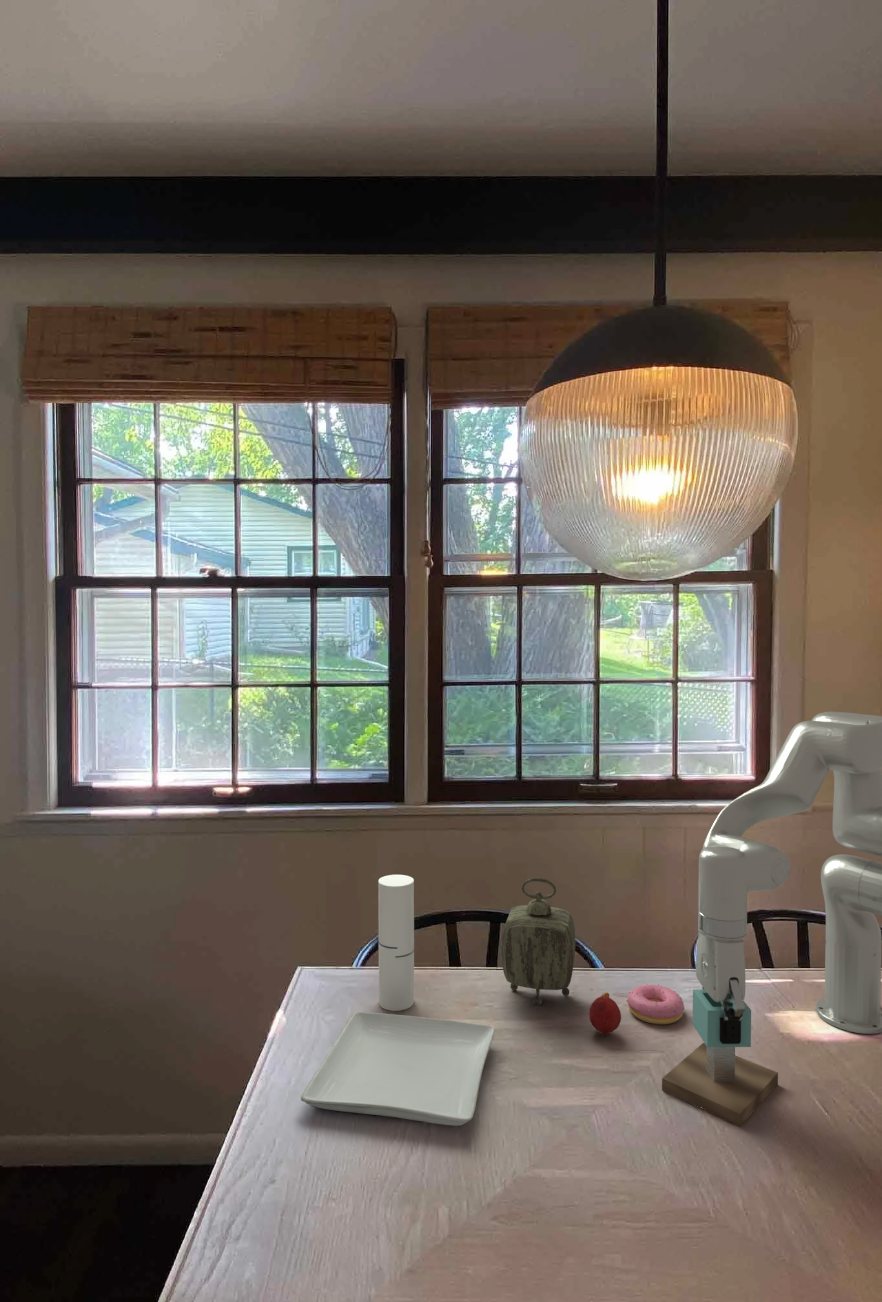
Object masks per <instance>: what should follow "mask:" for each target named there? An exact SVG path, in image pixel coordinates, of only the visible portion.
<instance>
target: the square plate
mask: <svg viewBox="0 0 882 1302" xmlns="http://www.w3.org/2000/svg"><path fill="white" fill-rule="evenodd" d="M495 1031H496V1030H495V1027H494V1026H493V1025H489V1024H481V1023H480V1024H479V1023H474V1022H473V1023H472V1022H466V1021H459V1020H451V1019H442V1018H433V1017H425V1016H414V1015H403V1014H394V1013H381V1012H379V1013H377V1012H363V1011H355V1012H353V1013H352V1014H351V1016H350V1017H349V1019H348V1021H346V1023H345V1024H344V1027H343V1028H342V1030H341V1032H340V1034H339V1035H338V1037H336V1040H335V1041H334V1043H333V1045H332V1046H331V1048H330V1049H329V1051H328V1053H327V1054H326V1056H325V1057H324V1059H323V1061H322V1062H321V1063H320V1065H319V1067H318V1068H317V1069H316V1072H315V1073H314V1075H313V1076H312V1078H311V1079H310V1080H309V1082H308V1084H307V1086H306V1087H305V1088H304V1091H303V1093H302V1094H301V1096H300V1101H302V1102H304V1103H306V1104H307V1105H310V1106H311V1107H315V1108H319V1109H322V1110H323V1109H324V1110H330V1111H338V1112H345V1113H353V1114H355V1113H356V1114H363V1115H364V1114H365V1115H374V1116H380V1117H381V1116H383V1117H389V1118H397V1119H398V1118H399V1119H405V1120H411V1121H417V1122H422V1123H431V1124H437V1125H442V1126H443V1125H445V1126H452V1127H454V1126H459V1127H460V1126H463V1125H465V1124H466V1123H468V1122H469V1121H471V1120H472V1119H473V1118H474V1115H475V1114H474V1113H475V1111H476V1107H477V1105H476V1104H477V1099H478V1096H479V1088H480V1083H481V1078H482V1073H483V1071H484V1066H485V1063H486V1059H487V1056H488V1053H489V1050H490V1048H491V1044H492V1041H493V1039H494V1035H495Z"/></svg>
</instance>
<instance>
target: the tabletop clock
mask: <svg viewBox="0 0 882 1302" xmlns="http://www.w3.org/2000/svg"><path fill="white" fill-rule="evenodd" d="M533 882H541V883H546V884H547V885H550V886H551V887H552V889H553V892H551V893H550V894H547V895H546V894H545V895H542V892H541V891H540V890H539V891H536V894H532V893H529V892H528V891H526V890H525V886H526V885H527V884H529V883H533ZM521 891H522V893H524V894H525V895H526V897H528V898H531V900H530V901H529V902H528V904H524V905H516V906H514V907H511V909H510V912H509V914H508V915H507V916H508V917H507V918H506V920H505V921H506V922H505V924H504V927H503V931H502V938H501V939H502V940H501V948H500V949H501V951H500V952H501V962H502V970H503V975H504V978H505V980H506V982H508V983H510V987H509V988H510V989H511V990H512V991H517V990H518V988H519V987H520V988H521V987H522V988H527V989H532V990H533V989H534V990H535V996H534V997H533V1003H534V1004H535V1005H537V1006H538V1005H541V1003H542V997H540V992H541V991H543V990H544V991H559V990H560V991H561V994H562V995H563V996H564V997H568V996H569V995H570V989H569V986H570V983H571V981H572V977H573V972H574V971H573V970H574V964H575V962H574V961H575V955H576V954H575V953H576V944H577V943H576V942H577V941H576V929H575V923H574V918H573V916H572V914H571V913H570V912H569V911H567V910H566V909H563V908H559V907H554V906H551V905H550V904H549V903H548V901H546V900H548V899H550V898H552V897H554V896H555V895H556V893H557V887H556V886H555V884H554V883H553V882H552V881H551V880H548V879H546V878H542V877H531V878H529V879H526V880H525V881H524V882H523V883H522V885H521ZM540 990H541V991H540Z"/></svg>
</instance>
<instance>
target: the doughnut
mask: <svg viewBox="0 0 882 1302" xmlns="http://www.w3.org/2000/svg"><path fill="white" fill-rule="evenodd" d="M627 995H628V996H627V998H626V1002H627V1006H628V1009H629V1011H630V1013H632V1014H633V1016H635V1017H636V1018H637V1019H639V1020H640V1021H643V1022H645V1023H649V1024H653V1025H670V1024H674V1023H676V1022H677V1021H679V1020H680V1019H681V1018H682V1017H683V1015H684V1010H685V1004H684V1001H683V998H682V997H681V996H680V994H678V993H677V992H675V990H673V989H672V988H669V987H666V986H663V985H659V984H649V983H647V984H641V985H639V986H637V987H634V988H632V989H631V990H630V992H629V993H628V994H627Z"/></svg>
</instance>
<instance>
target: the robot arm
mask: <svg viewBox="0 0 882 1302" xmlns="http://www.w3.org/2000/svg"><path fill="white" fill-rule="evenodd" d="M831 771H832V772H833V781H834V782H833V783H834V784H833V786H834V790H833V806H832V807H833V808H832V809H833V810H832V835H833V838H834V840H835V841H836V842H837V843H838V844H839V845H841V846H843V847H845V848H848V849H851V850H854V851H857V852H861V853H865V854H869V855H873V856H876V857H877V856H878V857H881V858H882V715H873V714H864V713H863V714H862V713H857V712H846V711H845V712H844V711H824V712H820V713H817V714H816V715H815V716H814V717H813V718H812V719H811V720H805V721H801V722H799V723H797V724H795V725H794V726H793V728H791V730H790V731H789V733H788V735H787V737H786V739H785V740H784V743H783V744H782V746H781V748H780V750H779V752H778V754H777V755H776V758H775V759H774V762H773V764H772V766H771V767H770V769H769V771H768V773H767V775H766V777H765V778H764V780H763V782H762V783H760V784H758V785H757V786H754V787H753V788H751V789H749V790H748V791H745V792H743V794H740V795H739V796H737V797H736V798H734V799H733V800H732V801H730V802H729V803H727V804H726V806H724V807H723V808H722V809H721V811H720V812H719V813H718V814H717V816H716V817H715V820H714V822H713V823H712V825H711V828H710V829H709V830H708V833H707V835H706V837H705V839H704V841H703V846H702V849H701V850H700V852H699V856H698V909H697V910H698V913H697V914H698V915H697V916H698V917H697V919H698V920H697V923H698V925H697V931H698V936H697V947H696V948H697V949H696V961H695V975H696V978H697V981H698V982H699V984H701V986H702V988H701V989H705V990H706V992H707V993H708V994H709V995H710V997H711V998H712V999H713V1000H714V1001H715V1002H719V1001H720V1004H721V1011H722V1018H720V1042H721V1043H722V1044H740V1042H741V1021H742V1015H743V1012H744V1011H745V1005H744V1002H745V997H746V959H745V946H744V945H745V944H744V940H745V939H746V938H747V936H748V934H747V933H748V893H750V892H766V891H773V890H775V889H779V888H780V887H782V886H783V885H784V884H785V883H786V882H787V880H788V879H789V876H790V872H791V864H790V861H789V858H788V856H787V854H786V853H785V852H784V851H783V850H781V849H780V848H778V847H776V846H774V845H772V844H769V843H764V842H761V841H757V840H754V839H750V838H746V837H743V835H744V833H745V832H746V831H748V830H749V829H750V828H751V827H754V825H756V824H758V823H761V822H764V821H766V820H772V819H776V818H777V819H778V818H781V817H786V816H791V815H795V814H800V813H803V812H805V811H808V810H809V809H810V808H811V807H812V805H813V804H814V801H815V799H816V798H817V795H818V793H819V791H820V789H821V786H822V785H823V783H824V781H825V779H826V777H827V775H828V773H829V772H831ZM820 881H821V882H820V884H821V889H822V894H823V900H824V907H825V909H824V910H825V953H824V954H825V957H824V958H825V959H824V960H825V962H824V965H825V966H824V997H822V998H820V999H818V1000H817V1001H816V1003H815V1012H816V1014H817V1016H818V1017H819V1018H820V1019H821V1020H823V1021H824V1022H826V1023H827V1024H829V1025H831V1026H834V1027H835V1028H837V1029H841V1030H843V1031H847V1032H851V1033H857V1034H862V1035H863V1034H864V1035H875V1034H876V1035H878V1034H880V1033H882V1009H881V985H882V983H881V979H882V977H881V975H882V930H881V927H880V923H879V921H878V919H877V917H876V915H877V916H881V917H882V862H879V861H876V860H874V859H870V858H865V857H860V856H857V855H852V854H846V853H843V854H842V853H840V854H835V855H831V856H830V857H829V858H827V859H826V860H825V861H824V862H823V864H822V866H821V870H820ZM726 995H731V997H732V999H725V998H726ZM743 1001H744V1002H743ZM726 1003H733V1006H732V1007H733V1008H730V1009H729V1010H728V1011H727V1006H726Z"/></svg>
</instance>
